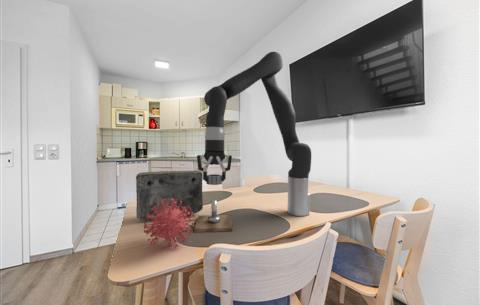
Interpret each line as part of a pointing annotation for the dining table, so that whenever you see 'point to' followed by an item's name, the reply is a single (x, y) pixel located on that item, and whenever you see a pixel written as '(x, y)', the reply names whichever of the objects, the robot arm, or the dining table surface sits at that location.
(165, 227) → the virus model
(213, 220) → the post
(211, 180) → the ring
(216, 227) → the board
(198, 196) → the concrete block
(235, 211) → the dining table surface
